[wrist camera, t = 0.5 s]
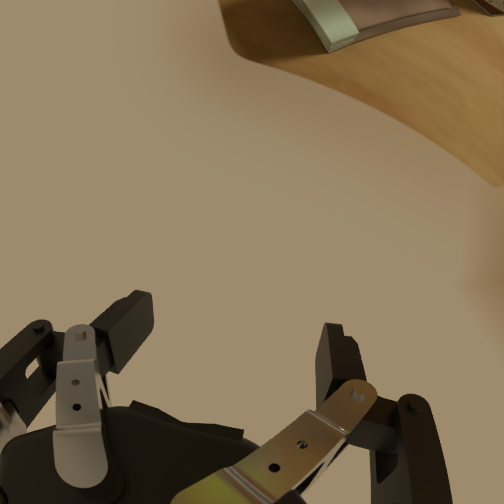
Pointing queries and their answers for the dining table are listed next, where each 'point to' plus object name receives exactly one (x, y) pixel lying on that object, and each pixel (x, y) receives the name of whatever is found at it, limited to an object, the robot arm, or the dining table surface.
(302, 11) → the stop track
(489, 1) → the food container
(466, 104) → the dining table surface
